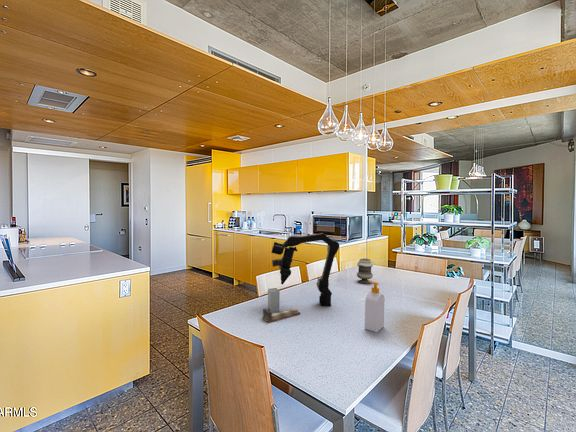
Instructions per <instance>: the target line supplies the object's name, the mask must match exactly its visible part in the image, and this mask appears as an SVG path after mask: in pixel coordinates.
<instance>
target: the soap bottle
mask: <svg viewBox="0 0 576 432" xmlns="http://www.w3.org/2000/svg"><path fill="white" fill-rule="evenodd" d="M369 281H370V280H369ZM370 282H371V283H372V284H373V287H371V291H368V293H366V296H365V301H364V329H365V330H368V331H371V332H375V333H378V332H380V330H381V328H382V327H383V328H384V326H385V295H384V294H383V293H380V288H379V287H378V285H380V282H378V281H373V280H371V281H370ZM370 282H368V283H370ZM371 283H370V284H371Z"/></svg>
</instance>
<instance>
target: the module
mask: <svg viewBox="0 0 576 432" xmlns="http://www.w3.org/2000/svg"><path fill="white" fill-rule="evenodd" d="M267 310H269V311H271V312H272V314H274V313H277V312H280V290H279V289H278V288H277V287H275V288H274V287H273V288H268V289H267Z"/></svg>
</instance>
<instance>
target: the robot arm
mask: <svg viewBox="0 0 576 432" xmlns="http://www.w3.org/2000/svg"><path fill="white" fill-rule="evenodd" d="M318 241H323V242H324V243H326V244H327V247H326V248H327V250H326V251H327V252H326V253H327V254H326V259H325V263H324V267H323V270H322V274H321V277H320V278H319V277H317V282H316V288H317V289H318V291H319V293H320V294H319V298H318V299H319V301H318V304H319V306H320V307H332V294H333V292H332V291H331V289H330V288H329V286H330V284H329V281H330V280H329V278H330V274H331V270H332V267H333V262H334V259H335V256H336V254H337V253H338V251H339V249H340V244H339V242H338V241H337V240H336V239H332V238H330V237H329V236H327V235H326V234H325V233H323V232H320V233H314V234H308V235H303V236H301V235H289V236H288V237H287V238H286V241H284V242H283V243H279V242H277V241H274V242H273V246H272V247H271V252H270V253H271V254H273V255H274V254H275V255H278V256H281V255H282V257H281V258H277V259H272V260H271V264H272V267H278V268H279V274H280V284H281V285H284V284H285V282H286V281H287V280H288V278H289V277H290V276H291V275H292V270H291V267H292V266H291V265H292V262H293V258H294V253H295V252H298V249H297V246H299V245H301V244H304V243H311V242H318Z"/></svg>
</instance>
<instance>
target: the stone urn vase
mask: <svg viewBox="0 0 576 432" xmlns="http://www.w3.org/2000/svg"><path fill="white" fill-rule="evenodd" d="M356 265H357V267H358V272H357V273H356V277H357V278H359V280H357V282H358V283H359V284H364V285H370V284H371V282H370V280H371V279H372V278H373V276H374V274H373V273H372V267H373V266H374V264H373V262H372V260H371V259H370V258H365V257H364V258H359V260H358V262H357V264H356ZM368 282H370V283H368Z"/></svg>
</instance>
